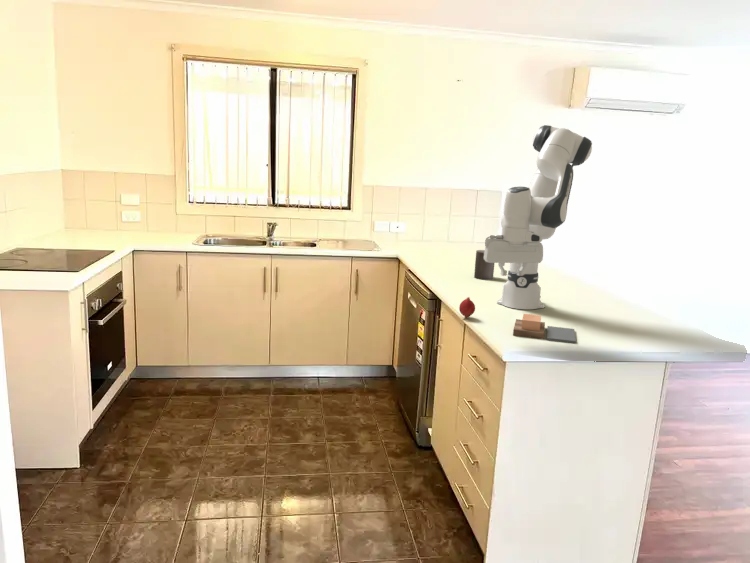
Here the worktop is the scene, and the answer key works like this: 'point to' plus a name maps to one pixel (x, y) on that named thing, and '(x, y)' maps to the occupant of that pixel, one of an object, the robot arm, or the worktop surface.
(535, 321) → the orange rectangular block
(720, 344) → the worktop surface
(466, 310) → the onion
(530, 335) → the board
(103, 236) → the worktop surface
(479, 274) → the pillar candle
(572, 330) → the mat
